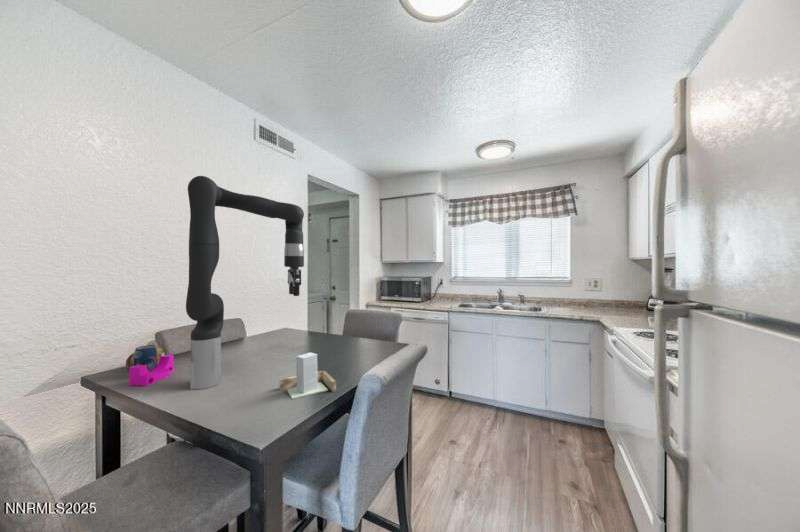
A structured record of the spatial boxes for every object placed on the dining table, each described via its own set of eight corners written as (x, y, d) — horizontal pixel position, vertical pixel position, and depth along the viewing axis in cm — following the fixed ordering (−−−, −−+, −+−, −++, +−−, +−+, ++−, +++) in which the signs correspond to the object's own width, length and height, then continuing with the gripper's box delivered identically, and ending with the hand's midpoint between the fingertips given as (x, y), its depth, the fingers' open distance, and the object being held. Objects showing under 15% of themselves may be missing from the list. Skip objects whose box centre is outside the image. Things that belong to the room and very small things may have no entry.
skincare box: (310, 384, 106) (310, 351, 106) (318, 387, 103) (317, 354, 103) (295, 390, 101) (295, 356, 101) (303, 393, 98) (303, 358, 98)
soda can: (137, 382, 110) (137, 350, 110) (130, 378, 113) (130, 347, 113) (159, 376, 116) (159, 346, 116) (152, 373, 119) (152, 343, 119)
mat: (292, 399, 95) (292, 398, 95) (287, 390, 102) (287, 389, 102) (327, 390, 101) (327, 389, 101) (320, 382, 108) (320, 381, 108)
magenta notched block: (146, 388, 104) (146, 367, 104) (129, 388, 104) (129, 367, 104) (179, 373, 119) (179, 355, 119) (164, 373, 119) (164, 355, 119)
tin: (130, 375, 117) (130, 354, 117) (124, 375, 117) (124, 354, 117) (166, 363, 132) (166, 344, 132) (161, 362, 132) (161, 344, 132)
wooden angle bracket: (286, 403, 92) (286, 392, 92) (279, 389, 103) (279, 379, 103) (336, 391, 101) (336, 381, 101) (324, 379, 112) (324, 370, 112)
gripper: (307, 255, 115) (307, 296, 115) (299, 256, 127) (299, 293, 127) (287, 254, 111) (287, 297, 111) (281, 255, 123) (281, 294, 123)
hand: (294, 295), depth 119 cm, fingers open, 8 cm apart
